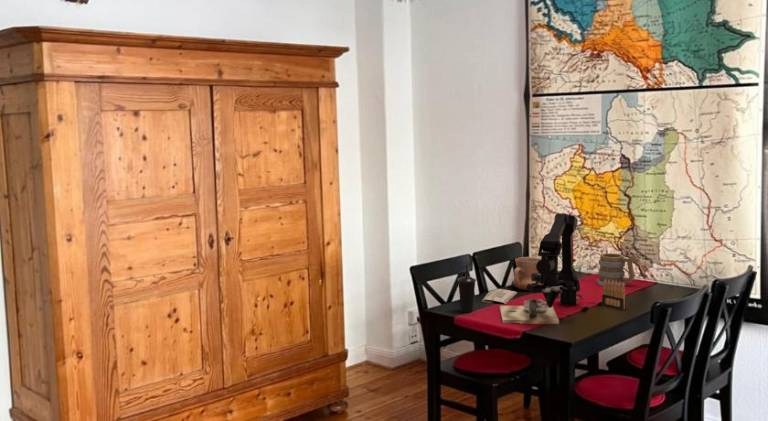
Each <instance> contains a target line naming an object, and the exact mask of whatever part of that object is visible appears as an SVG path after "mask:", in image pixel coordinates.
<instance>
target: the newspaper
mask: <svg viewBox="0 0 768 421" xmlns="http://www.w3.org/2000/svg"><path fill="white" fill-rule="evenodd" d="M517 294H518V292H517V291H514V290H508V289H502V288H495V289H494V290H490V291H488V293H487V294H486V295H485V296H484V298H483V299H481V302H482V303H488V304H493V303H494V302H497V303H498V302H499V303H503V304H504V305H506V304H508V302H509V301H511V299H512V298H514V297H515V296H516V295H517Z"/></svg>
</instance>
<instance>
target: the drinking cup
mask: <svg viewBox="0 0 768 421" xmlns="http://www.w3.org/2000/svg"><path fill="white" fill-rule="evenodd" d="M468 268H469V267H468V264H467V263H466V264H465V276H462V277H459V278H457V283H458V292H459V304H460V312H462V313H465V312H469V313H472V312H474V311H473V310H474V309H473V308H474V300H475V298H474V297H475V290H476V289H475V288H476V281H477V279H476V278H475V277H472V276H469V275H468Z"/></svg>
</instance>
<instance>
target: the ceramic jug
mask: <svg viewBox="0 0 768 421" xmlns="http://www.w3.org/2000/svg"><path fill="white" fill-rule="evenodd" d="M514 260H515V265H516V268H514V271H513V276H514V278H513V280H512V285H513V286H514V287H515V288H517V289H519V290H523V291H526V286H527V285H528V284H531V283H536V282H535V281H534V282H532V280H531V274H533V273H537V274H538V275H539V272H538V271H537V269H536V265H537V262H538V261H539V260H541V257H540V258H539V257H534V256H522V257H518V258H517V257H516V258H515V259H514ZM538 284H539V285H543V284H540V283H538Z"/></svg>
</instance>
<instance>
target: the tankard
mask: <svg viewBox="0 0 768 421" xmlns="http://www.w3.org/2000/svg"><path fill="white" fill-rule="evenodd" d="M599 256H600V257H599V258H600V259H598V265H599V269H598V275H599V278H597V279H596V283H597V285H599V286H601V287H602V286H603V287H604V280H605V278H606V281H607V284H608V280H610V288H611V282H612V280H613V281H614V287H615V281H617V285H618V284H619V281H620V282H621V287H622V283H623V282H624V285H625V286H626V285H627V284H628V283H629V284H630V283H632V282H633V281H634V279H635V271H634V267H633V262H634V261H635V263H639V261H640V258H639V257H637V256H635V255H633V256H632V257H628V258H626V257H625V256H624V255H623V254H620V253H613V252H612V253H602V254H600V255H599ZM626 263H627V269H628V270H627V271H628V273H629V274H628V278H627V277H626V276H625V275H626V272H625V270H624V267H625V266H626Z"/></svg>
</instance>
